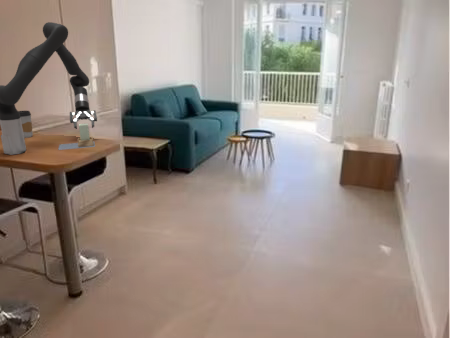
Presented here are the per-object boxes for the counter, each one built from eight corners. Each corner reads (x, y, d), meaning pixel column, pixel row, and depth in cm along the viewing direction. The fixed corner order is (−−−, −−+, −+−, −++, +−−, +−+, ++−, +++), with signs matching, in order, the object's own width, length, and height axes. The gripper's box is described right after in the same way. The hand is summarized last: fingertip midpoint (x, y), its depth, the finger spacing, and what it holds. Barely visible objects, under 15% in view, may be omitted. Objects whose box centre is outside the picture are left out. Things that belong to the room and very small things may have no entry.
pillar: (81, 142, 196) (78, 125, 193) (81, 140, 200) (78, 124, 197) (90, 141, 197) (87, 125, 194) (89, 139, 201) (87, 123, 198)
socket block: (78, 147, 194) (77, 141, 193) (78, 143, 201) (77, 138, 200) (93, 145, 197) (93, 139, 196) (93, 142, 204) (92, 136, 203)
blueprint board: (58, 151, 190) (58, 149, 189) (59, 145, 200) (59, 144, 200) (95, 148, 195) (95, 146, 195) (94, 142, 206) (94, 141, 206)
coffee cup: (29, 134, 227) (25, 110, 222) (37, 136, 223) (33, 111, 218) (16, 137, 220) (11, 112, 215) (24, 138, 216) (19, 113, 211)
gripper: (67, 100, 205) (69, 124, 199) (94, 99, 210) (97, 122, 203) (69, 108, 212) (71, 132, 205) (95, 107, 216) (98, 130, 210)
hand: (84, 127), depth 204 cm, fingers open, 8 cm apart
